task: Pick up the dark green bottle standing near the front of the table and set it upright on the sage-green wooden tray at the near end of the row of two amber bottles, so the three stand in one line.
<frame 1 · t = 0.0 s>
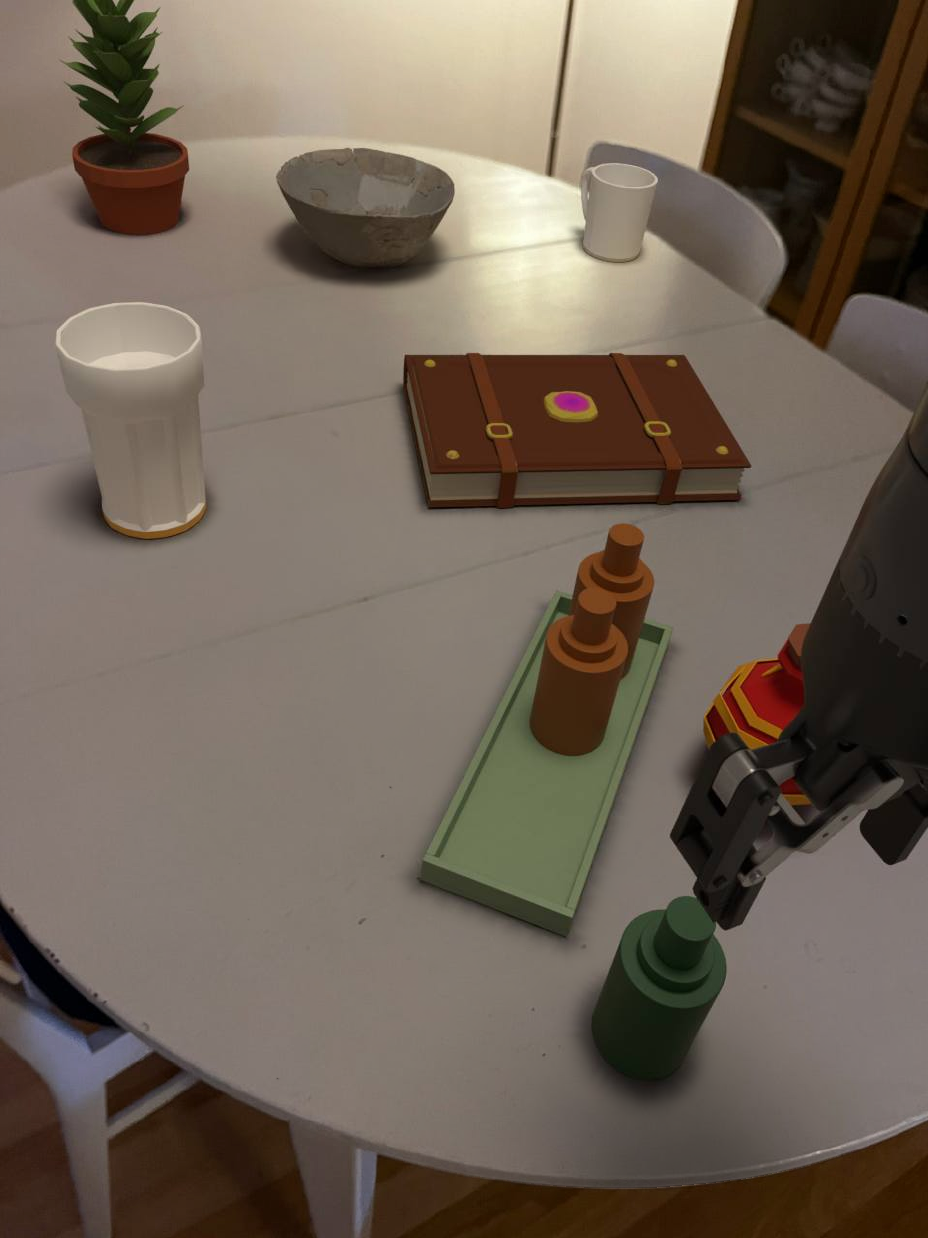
hand: (801, 876, 43), 23 cm above the table, tool pointing down, fingers open, 8 cm apart
mug: (604, 248, 144), on the table
cup: (155, 509, 93), on the table
amber bottle far: (595, 658, 83), point 1 cm above the table, touching tray
book: (562, 442, 107), on the table
ceramic bowl: (365, 257, 136), on the table
potted plant: (139, 219, 138), on the table
amber bottle mid: (567, 726, 78), point 1 cm above the table, touching tray
tray: (558, 749, 77), on the table
potion bottle: (751, 788, 76), on the table
green bottle: (639, 1031, 61), on the table
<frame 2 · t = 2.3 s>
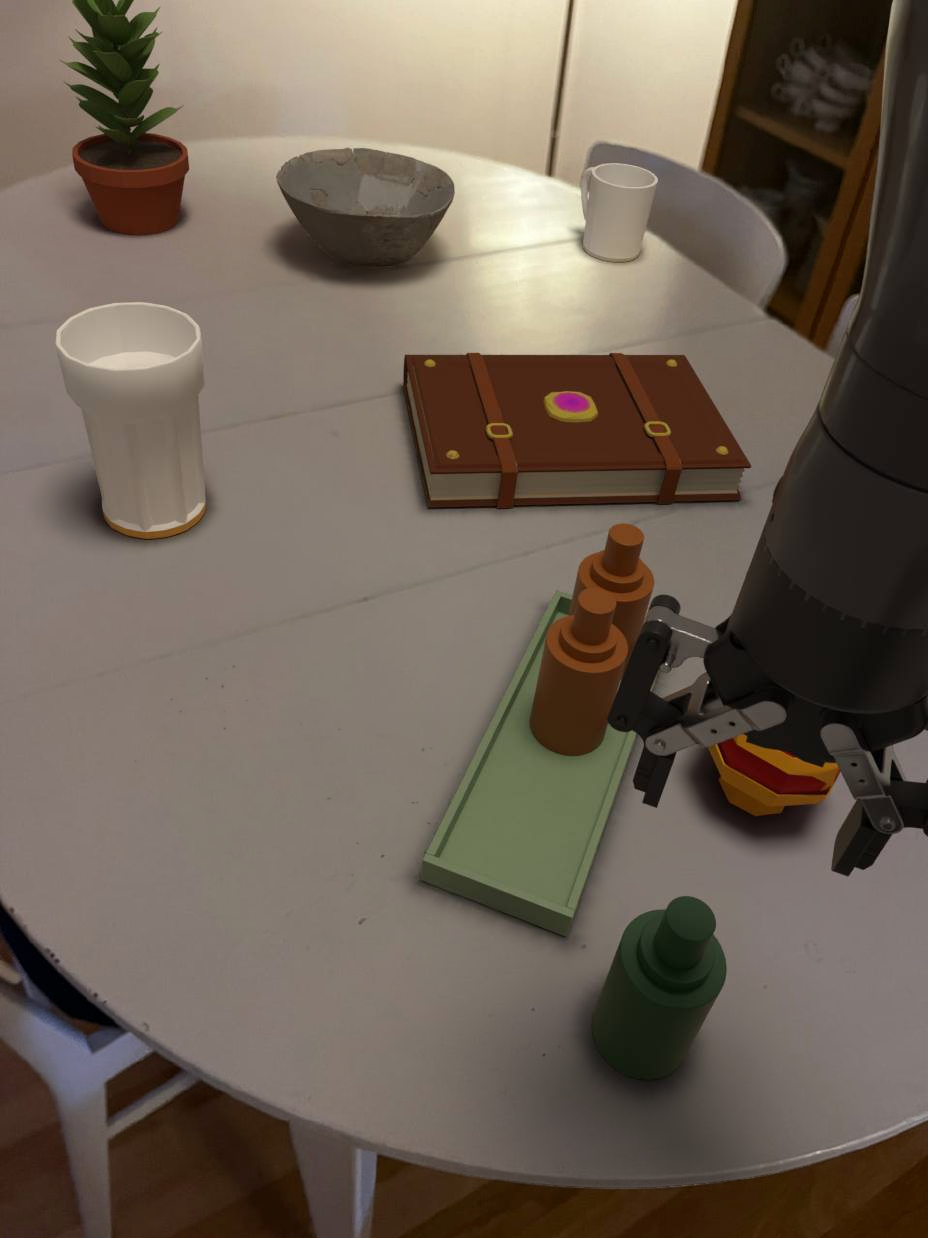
hand: (745, 824, 46), 22 cm above the table, tool pointing down, fingers open, 8 cm apart
nothing on the table moved.
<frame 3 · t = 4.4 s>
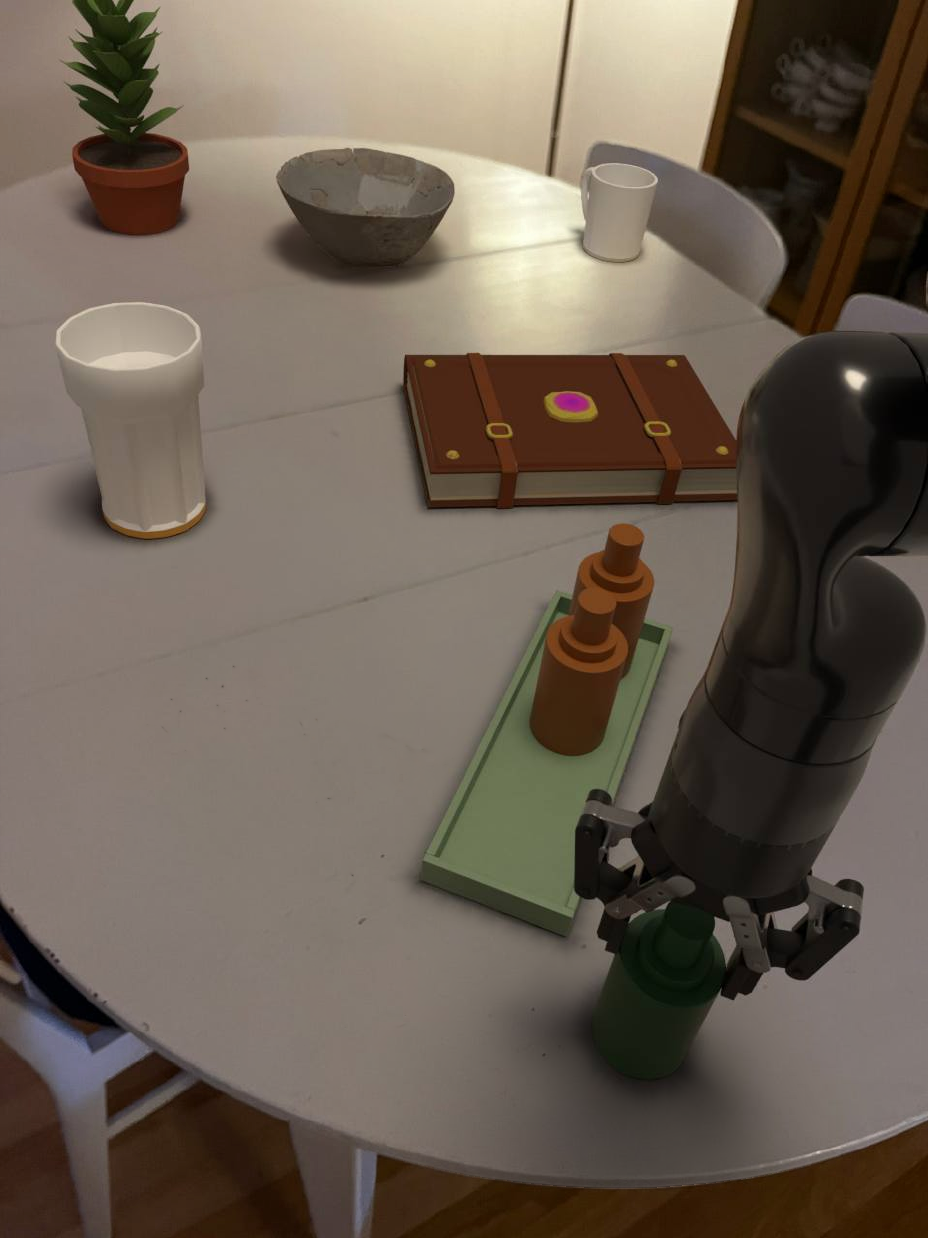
hand: (672, 960, 55), 9 cm above the table, tool pointing down, fingers closed on green bottle, 5 cm apart
green bottle: (639, 1031, 61), on the table, touching gripper
everything else where it was.
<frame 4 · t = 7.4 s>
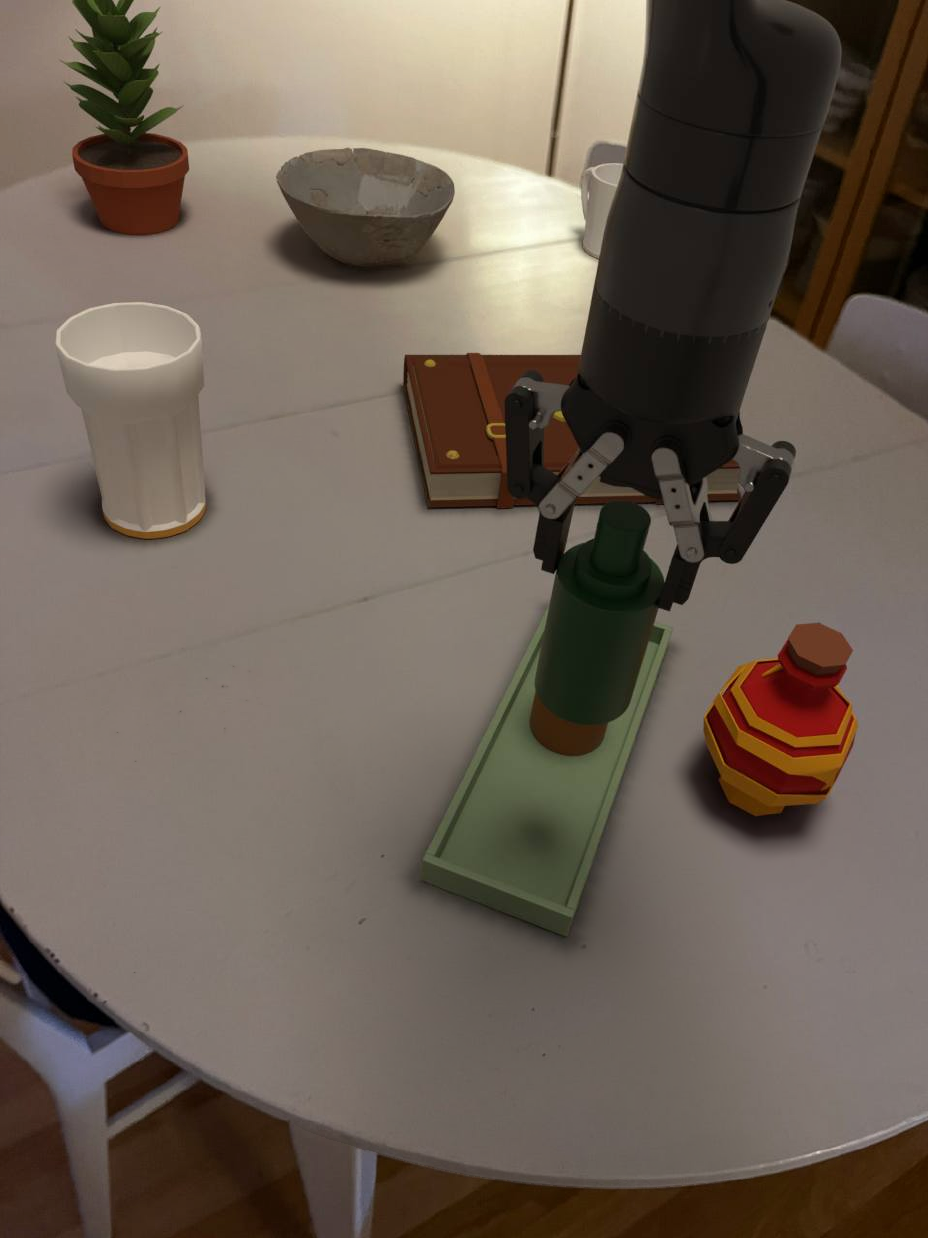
hand: (609, 581, 55), 24 cm above the table, tool pointing down, fingers closed on green bottle, 6 cm apart
green bottle: (582, 688, 60), point 15 cm above the table, touching gripper
everything else where it was.
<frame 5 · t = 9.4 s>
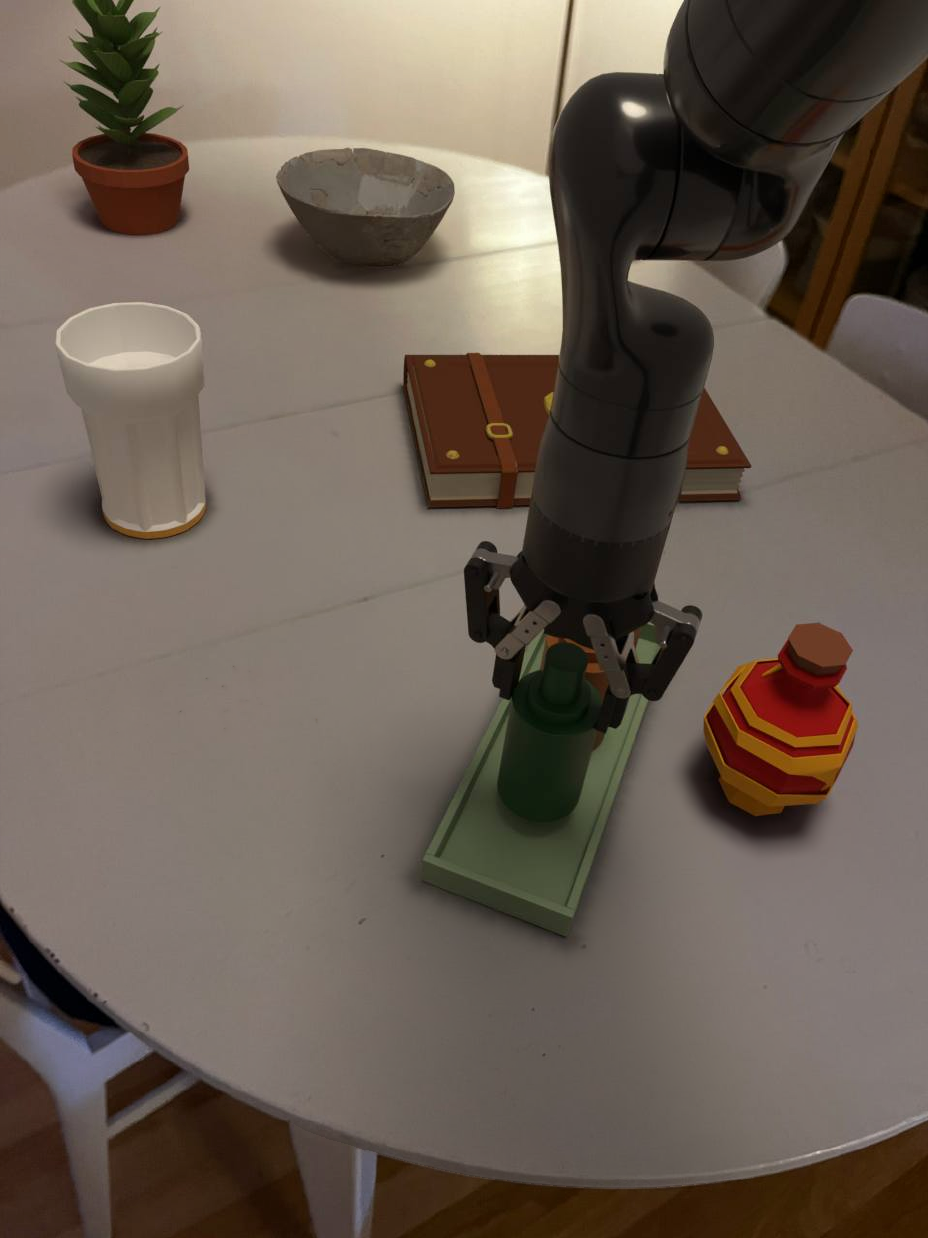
hand: (556, 706, 65), 11 cm above the table, tool pointing down, fingers closed on green bottle, 5 cm apart
green bottle: (538, 788, 71), point 2 cm above the table, touching gripper
everything else where it was.
when the fingers open (9 cm above the table, at t = 10.6 s): green bottle stays where it is, resting on tray.
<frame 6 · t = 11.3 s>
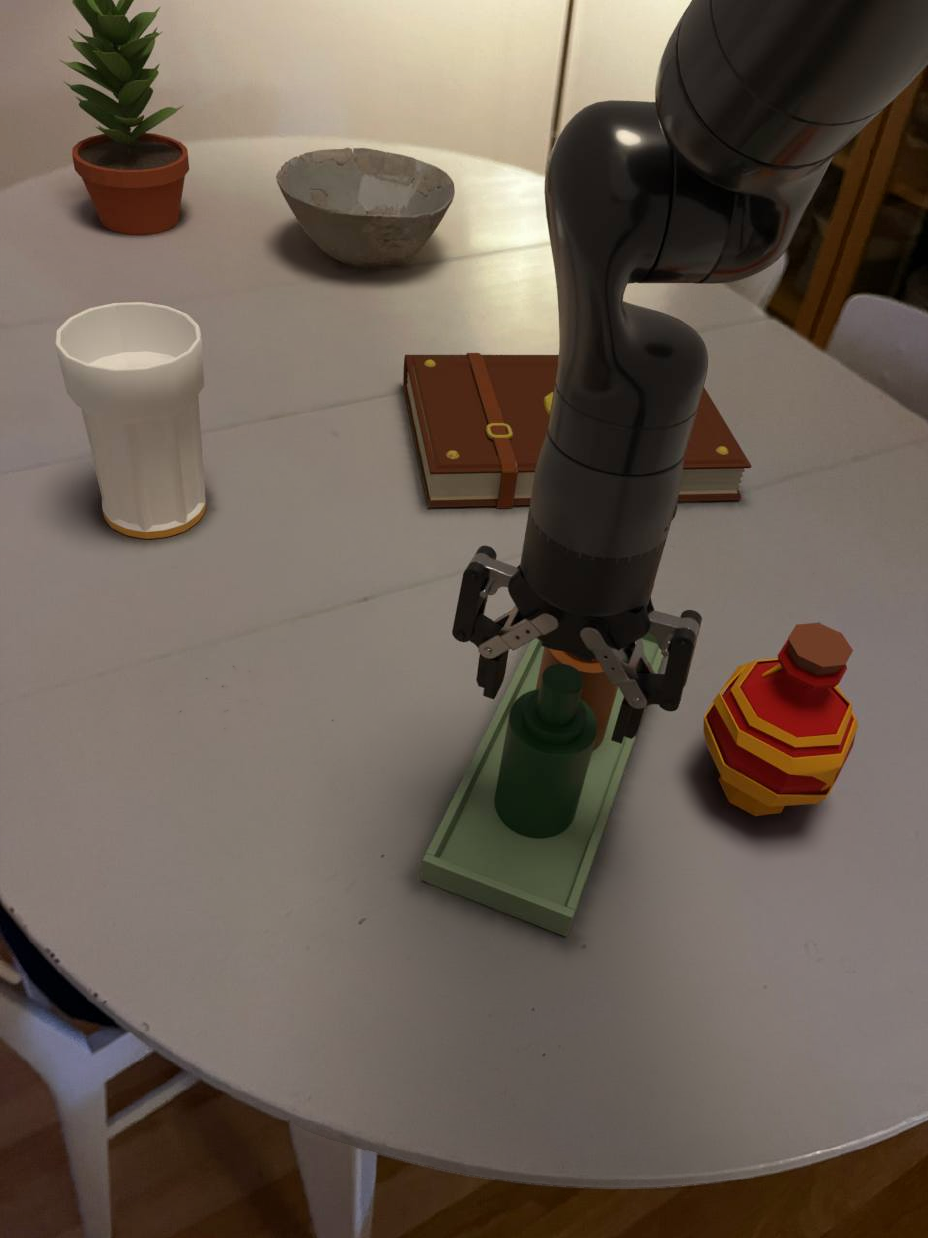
hand: (556, 711, 65), 11 cm above the table, tool pointing down, fingers open, 8 cm apart
green bottle: (535, 804, 72), point 1 cm above the table, touching tray
everything else where it was.
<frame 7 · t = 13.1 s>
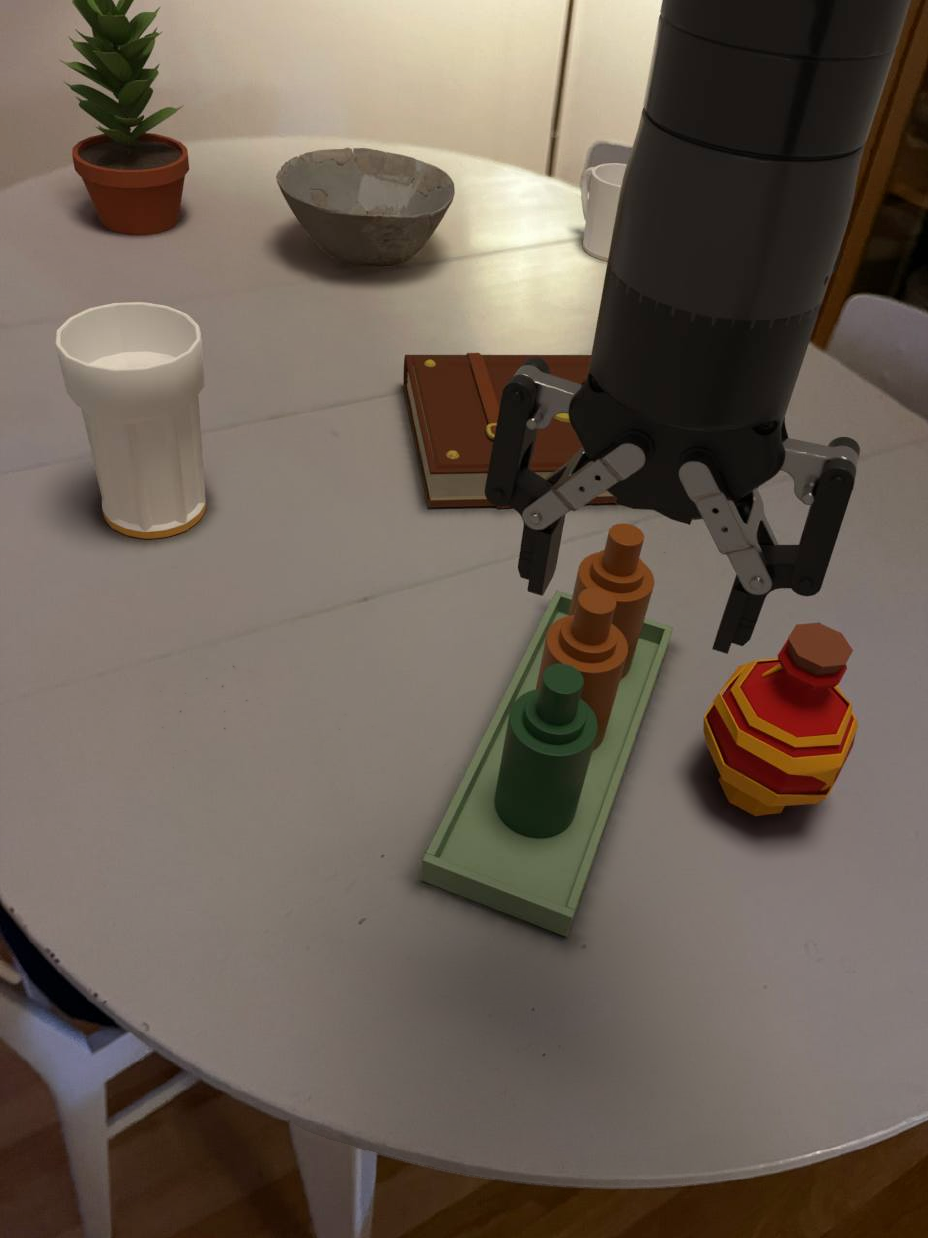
hand: (630, 611, 46), 28 cm above the table, tool pointing down, fingers open, 8 cm apart
nothing on the table moved.
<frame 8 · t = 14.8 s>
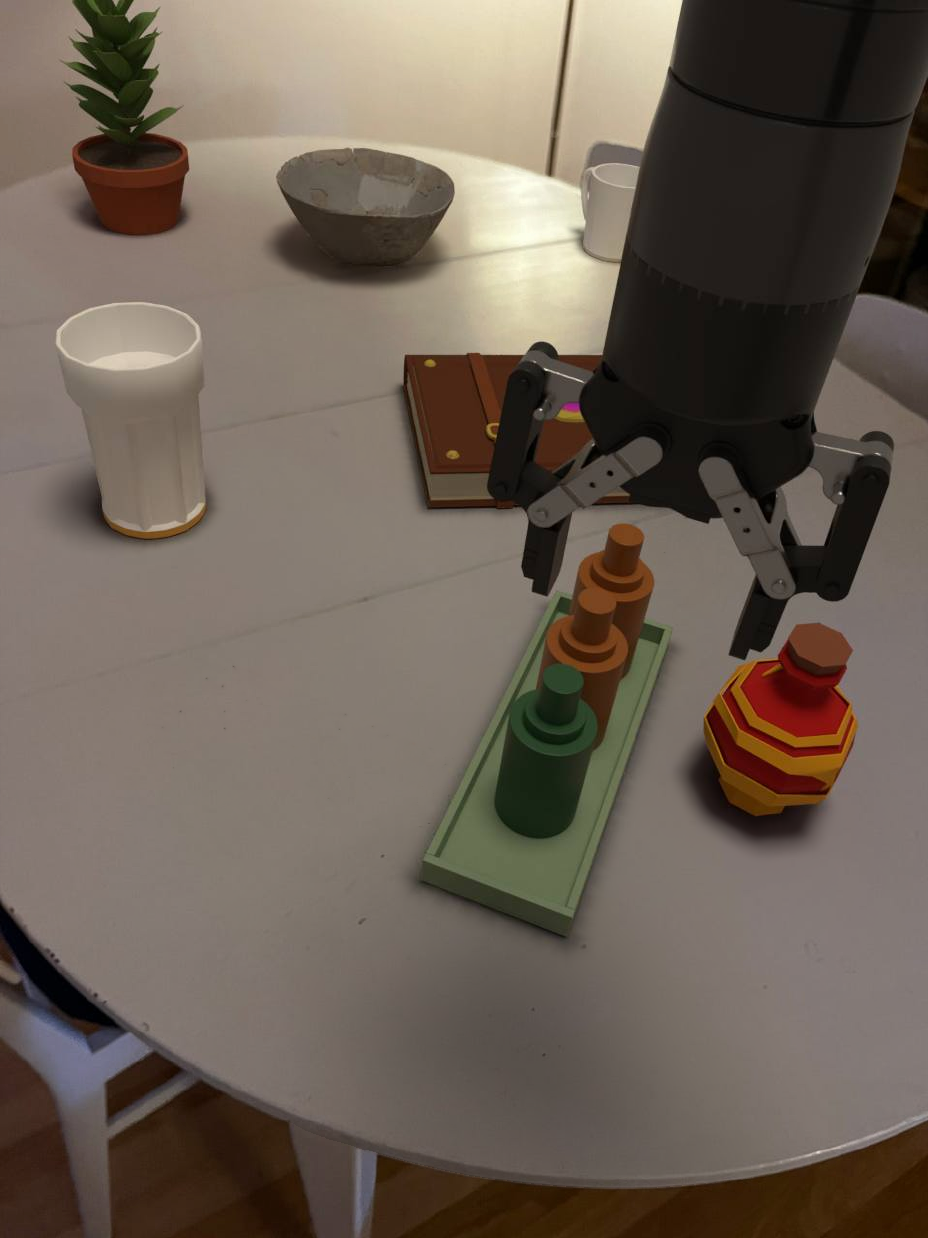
hand: (641, 614, 43), 30 cm above the table, tool pointing down, fingers open, 8 cm apart
nothing on the table moved.
at the end: green bottle 0.0 cm from the target spot in the tray, point 0.6 cm above the tray's base; green bottle tilted 0°; amber bottle far moved 0.0 cm from its start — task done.
